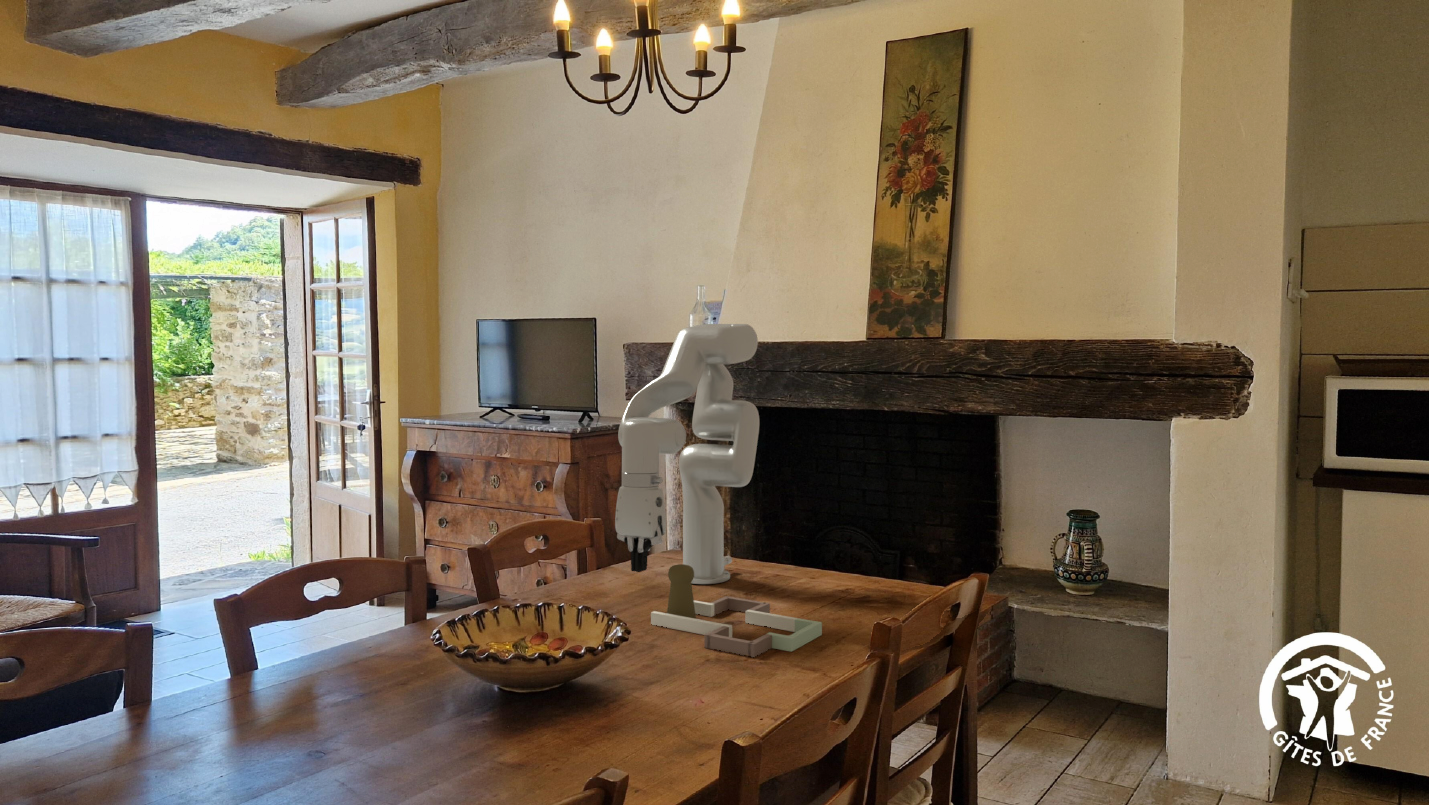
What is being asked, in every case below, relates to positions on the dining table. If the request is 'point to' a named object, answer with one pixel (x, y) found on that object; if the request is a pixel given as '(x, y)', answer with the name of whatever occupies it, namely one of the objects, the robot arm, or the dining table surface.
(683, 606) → the olive pawn
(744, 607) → the trap lane
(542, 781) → the dining table surface
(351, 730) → the dining table surface
